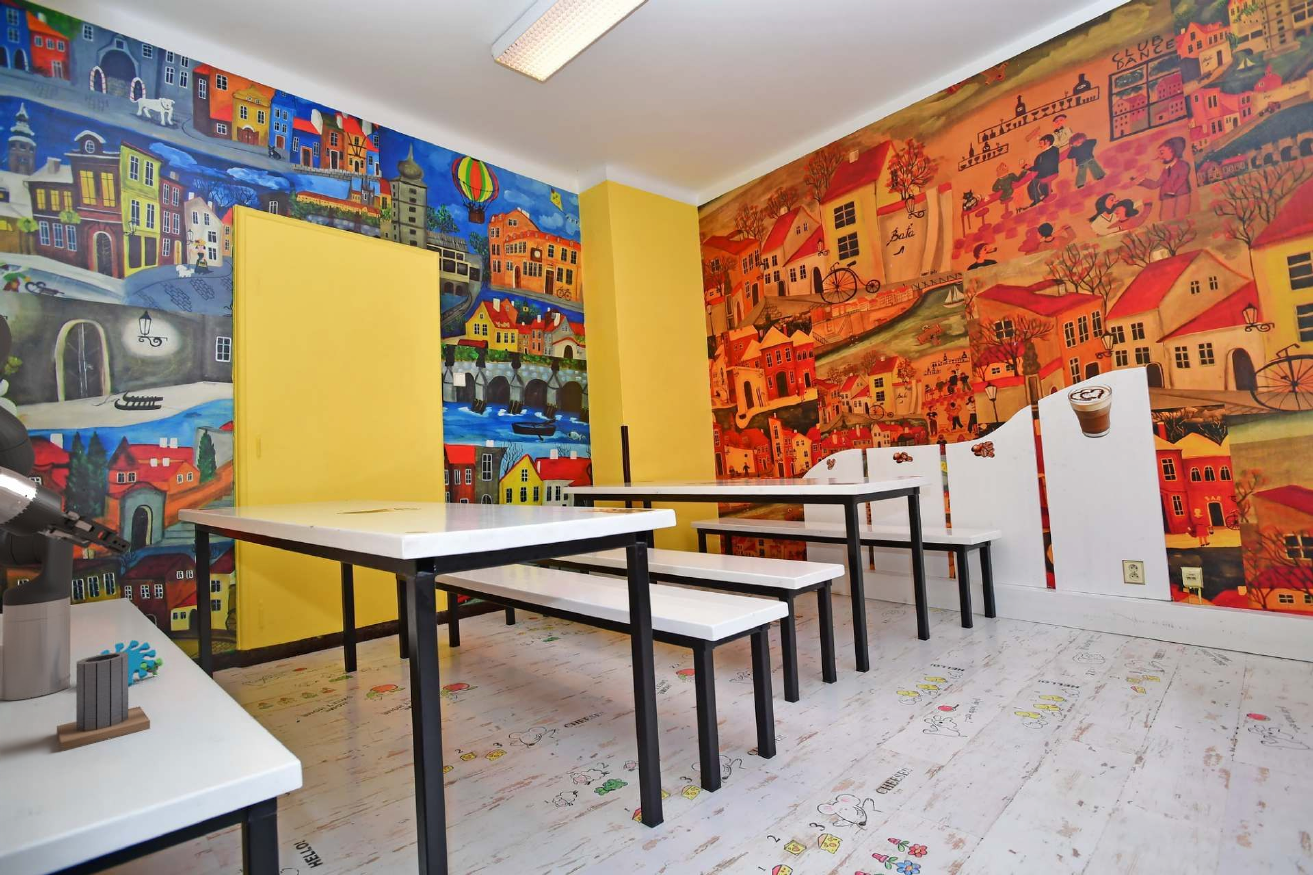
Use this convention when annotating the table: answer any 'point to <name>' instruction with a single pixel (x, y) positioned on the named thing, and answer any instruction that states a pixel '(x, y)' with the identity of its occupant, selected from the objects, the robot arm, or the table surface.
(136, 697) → the table surface
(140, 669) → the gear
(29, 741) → the table surface
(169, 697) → the table surface
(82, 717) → the sleeve
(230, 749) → the table surface
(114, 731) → the base plate
